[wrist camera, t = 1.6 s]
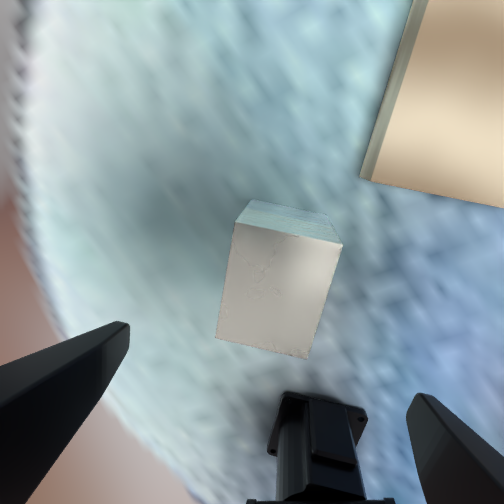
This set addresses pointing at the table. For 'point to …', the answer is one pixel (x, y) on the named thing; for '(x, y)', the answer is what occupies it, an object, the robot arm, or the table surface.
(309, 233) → the block
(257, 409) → the table surface
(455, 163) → the thin beige square tile
